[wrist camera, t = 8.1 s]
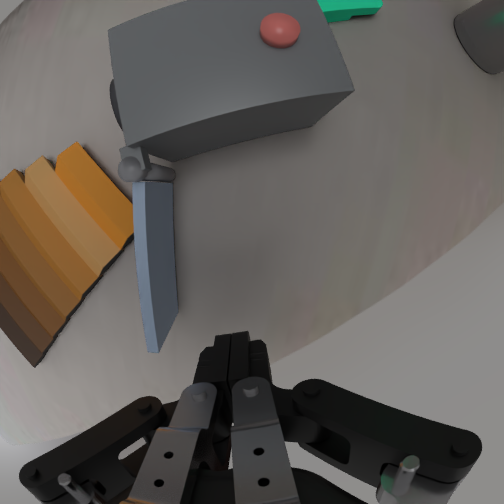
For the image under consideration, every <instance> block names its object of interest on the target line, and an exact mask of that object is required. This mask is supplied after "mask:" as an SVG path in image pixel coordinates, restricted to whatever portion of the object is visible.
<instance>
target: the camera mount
mask: <svg viewBox="0 0 504 504" xmlns="http://www.w3.org/2000/svg"><path fill="white" fill-rule="evenodd" d="M317 1H318V3H319V5H320V7H321V9H322V11H323V14H324V16H325V18H326V20H327V22H328V23H329V22H336V21H344V20H349V19H350V18H351V16H355V15H369V14H375V13H376V12H377V11H378V10H379V9H380V8H381V7H382V5H383V2H382V0H317Z"/></svg>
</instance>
